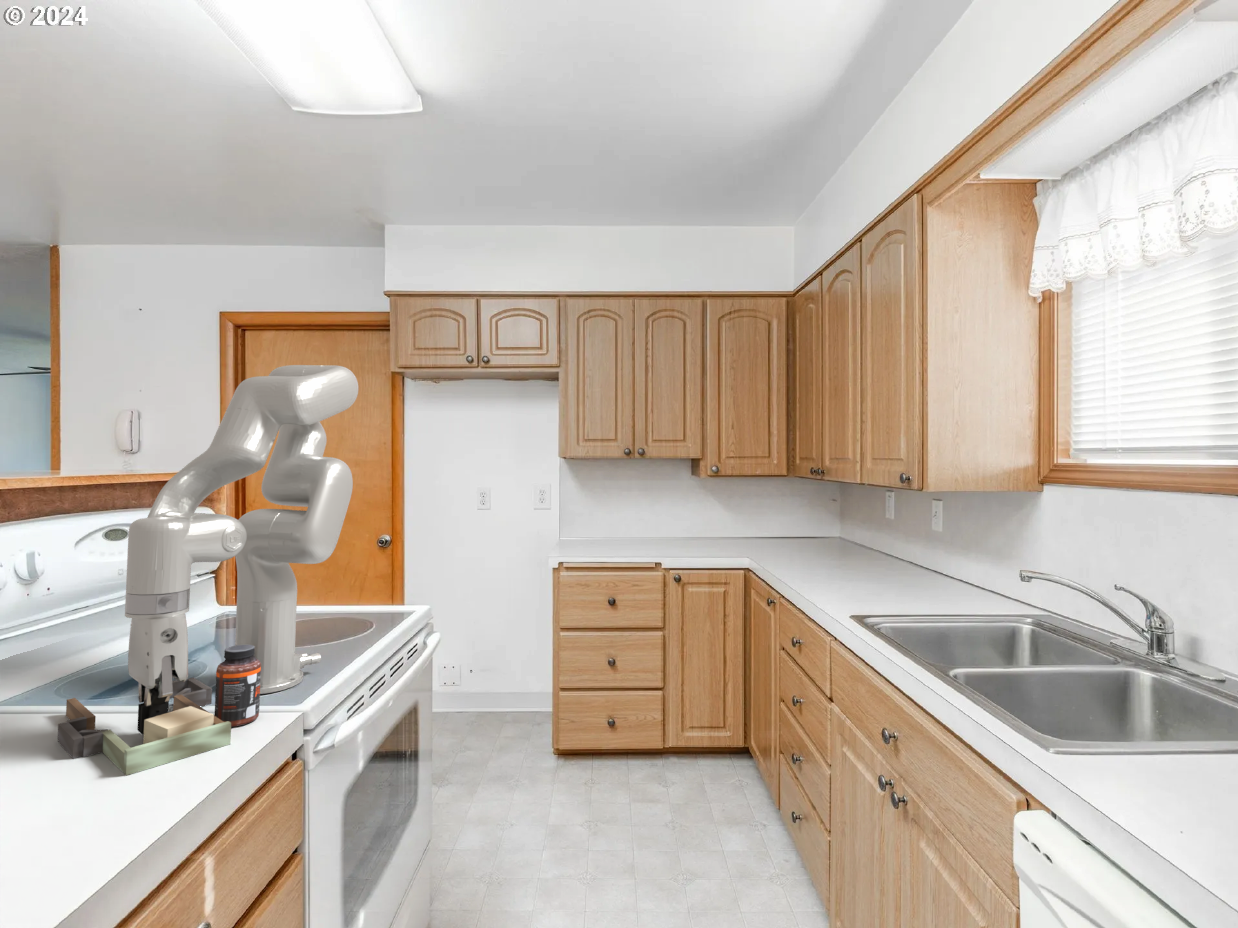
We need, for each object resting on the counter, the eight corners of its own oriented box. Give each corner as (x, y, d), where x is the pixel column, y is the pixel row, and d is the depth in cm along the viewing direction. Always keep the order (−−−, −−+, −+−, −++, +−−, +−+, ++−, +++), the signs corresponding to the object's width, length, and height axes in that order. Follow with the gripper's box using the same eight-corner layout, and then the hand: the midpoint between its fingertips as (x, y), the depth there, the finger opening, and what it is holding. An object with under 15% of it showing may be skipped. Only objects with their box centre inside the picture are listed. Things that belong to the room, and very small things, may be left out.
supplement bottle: (263, 721, 96) (266, 648, 96) (219, 732, 92) (222, 655, 92) (253, 710, 100) (255, 640, 101) (210, 719, 96) (212, 646, 96)
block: (189, 732, 92) (190, 705, 92) (212, 742, 89) (213, 714, 90) (143, 748, 87) (144, 719, 87) (166, 758, 84) (167, 729, 84)
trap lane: (187, 688, 109) (188, 671, 109) (262, 734, 92) (262, 714, 92) (39, 721, 94) (40, 701, 94) (95, 784, 76) (97, 759, 76)
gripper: (207, 606, 89) (202, 736, 88) (170, 592, 98) (165, 709, 97) (143, 615, 83) (137, 754, 82) (110, 599, 92) (104, 724, 91)
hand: (152, 729), depth 90 cm, fingers closed
